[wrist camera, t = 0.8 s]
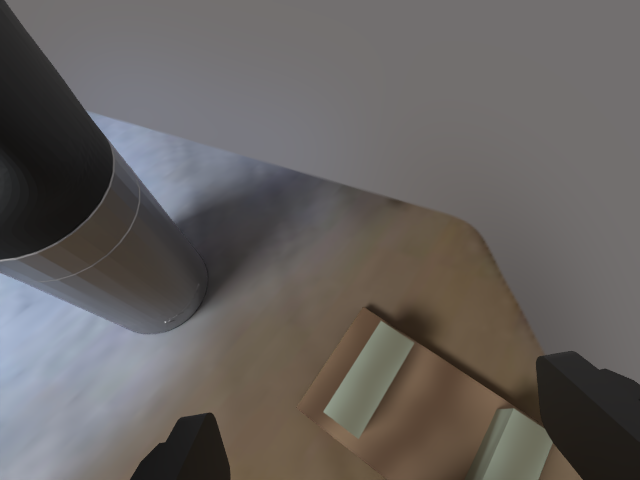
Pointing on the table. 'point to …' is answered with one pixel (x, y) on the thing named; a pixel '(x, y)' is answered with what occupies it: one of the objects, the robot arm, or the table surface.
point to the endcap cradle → (419, 412)
